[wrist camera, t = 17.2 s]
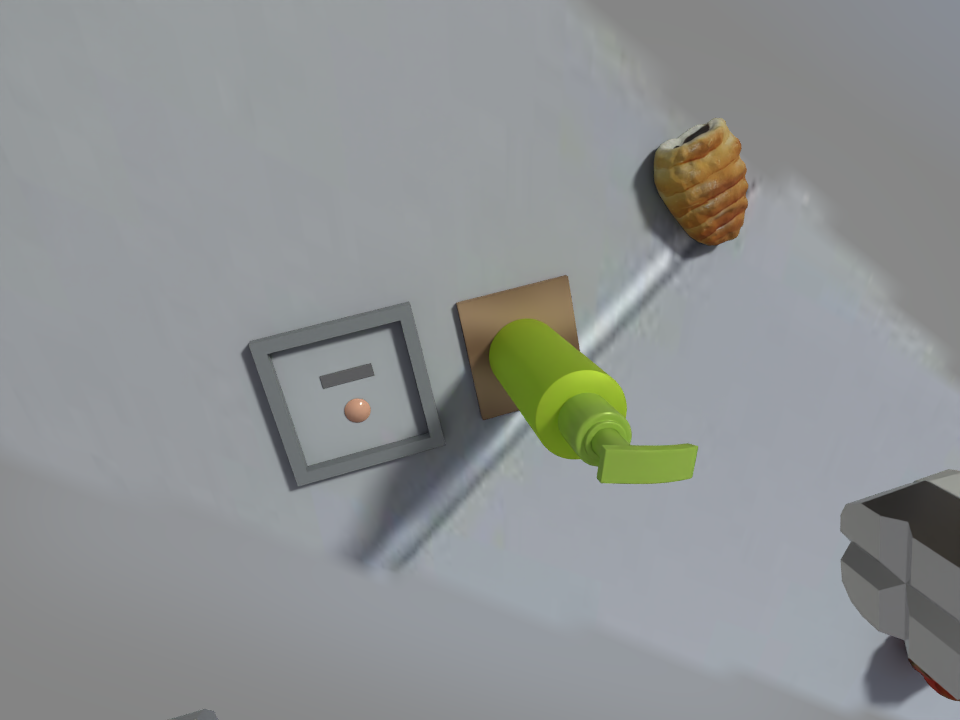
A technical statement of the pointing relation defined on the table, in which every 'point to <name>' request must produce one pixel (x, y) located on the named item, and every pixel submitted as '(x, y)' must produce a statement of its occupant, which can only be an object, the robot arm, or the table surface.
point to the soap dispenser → (578, 407)
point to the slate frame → (355, 408)
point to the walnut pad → (497, 311)
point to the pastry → (704, 182)
